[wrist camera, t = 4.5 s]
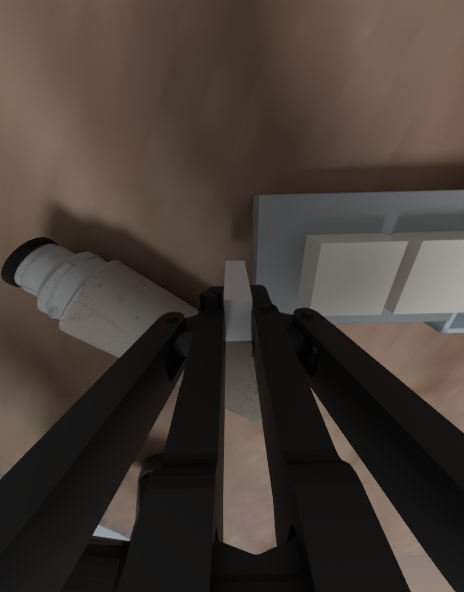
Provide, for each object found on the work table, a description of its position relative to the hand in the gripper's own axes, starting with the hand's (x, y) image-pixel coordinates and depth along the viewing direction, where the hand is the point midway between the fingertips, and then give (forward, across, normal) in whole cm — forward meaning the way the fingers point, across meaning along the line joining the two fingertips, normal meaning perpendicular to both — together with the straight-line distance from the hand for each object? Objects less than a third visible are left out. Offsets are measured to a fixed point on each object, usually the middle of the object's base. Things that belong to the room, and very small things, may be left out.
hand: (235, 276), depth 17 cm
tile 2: (+1, +9, 0) cm, 9 cm away
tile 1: (+1, +16, 0) cm, 16 cm away
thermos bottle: (+2, +4, -16) cm, 17 cm away
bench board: (+6, +12, 0) cm, 13 cm away
